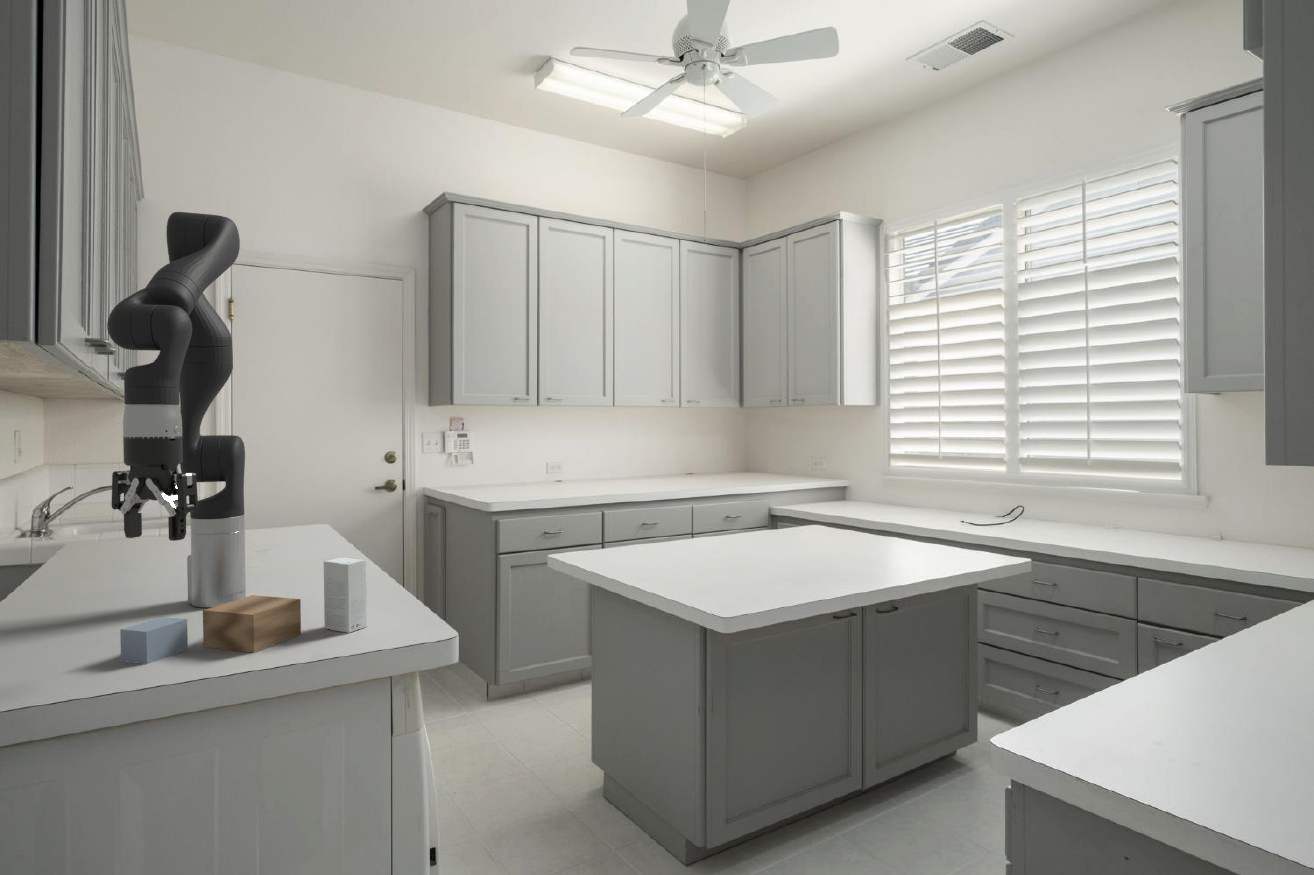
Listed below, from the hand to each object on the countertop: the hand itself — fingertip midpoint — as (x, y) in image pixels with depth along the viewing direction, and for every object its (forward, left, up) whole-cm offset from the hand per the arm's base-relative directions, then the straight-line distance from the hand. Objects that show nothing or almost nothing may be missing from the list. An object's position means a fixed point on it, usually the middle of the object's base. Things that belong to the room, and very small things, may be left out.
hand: (155, 538), depth 113 cm
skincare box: (+19, +20, -18) cm, 33 cm away
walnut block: (+9, +10, -18) cm, 22 cm away
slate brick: (0, 0, -18) cm, 18 cm away
